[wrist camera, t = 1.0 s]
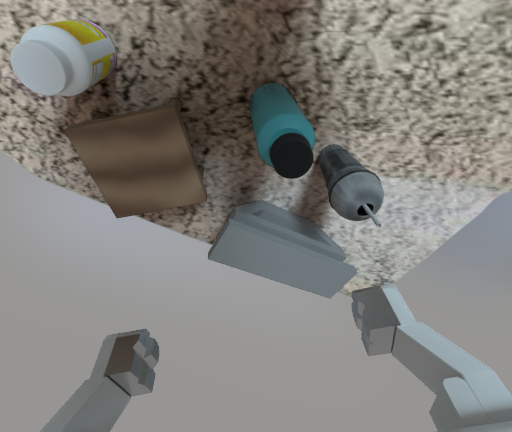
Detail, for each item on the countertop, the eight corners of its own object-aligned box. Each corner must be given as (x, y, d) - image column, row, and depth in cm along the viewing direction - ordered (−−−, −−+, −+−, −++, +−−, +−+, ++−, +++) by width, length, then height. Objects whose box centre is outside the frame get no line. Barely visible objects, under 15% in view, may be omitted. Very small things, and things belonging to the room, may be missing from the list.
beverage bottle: (239, 109, 43) (244, 174, 27) (264, 68, 40) (285, 114, 24) (275, 131, 46) (299, 203, 30) (300, 93, 43) (342, 151, 27)
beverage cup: (315, 181, 52) (352, 262, 36) (306, 144, 48) (344, 219, 32) (355, 168, 51) (412, 246, 35) (350, 130, 47) (412, 199, 31)
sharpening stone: (339, 233, 60) (357, 272, 51) (316, 257, 64) (330, 298, 55) (229, 186, 51) (229, 224, 43) (211, 217, 55) (207, 258, 47)
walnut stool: (89, 110, 42) (64, 130, 36) (183, 90, 41) (174, 107, 35) (131, 190, 50) (116, 218, 44) (209, 175, 50) (206, 201, 43)
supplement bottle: (51, 23, 36) (-22, 34, 25) (103, 14, 35) (52, 21, 25) (78, 81, 40) (26, 110, 29) (126, 73, 40) (89, 100, 29)
